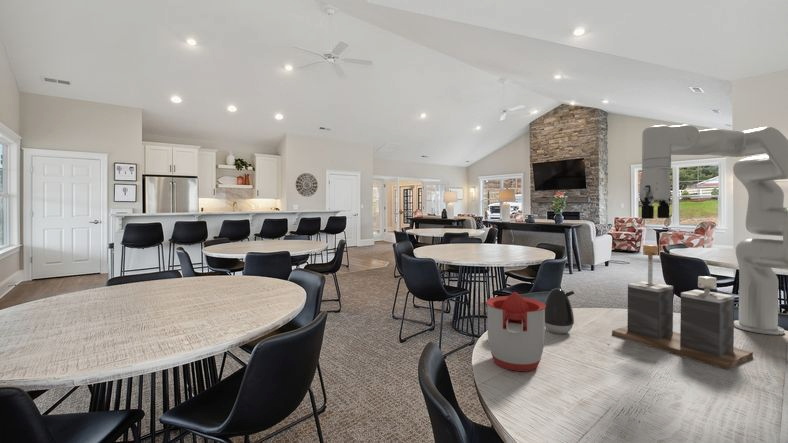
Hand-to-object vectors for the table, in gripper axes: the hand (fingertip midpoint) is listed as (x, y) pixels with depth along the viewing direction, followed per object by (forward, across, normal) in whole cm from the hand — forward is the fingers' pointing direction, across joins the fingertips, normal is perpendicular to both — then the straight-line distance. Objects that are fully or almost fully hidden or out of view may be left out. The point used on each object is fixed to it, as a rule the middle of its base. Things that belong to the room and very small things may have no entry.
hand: (655, 218), depth 114 cm
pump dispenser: (+40, +20, -20) cm, 49 cm away
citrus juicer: (+40, +54, -9) cm, 67 cm away
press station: (+40, 0, +6) cm, 40 cm away
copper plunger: (+29, 0, -1) cm, 29 cm away
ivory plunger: (+37, 0, +14) cm, 40 cm away
